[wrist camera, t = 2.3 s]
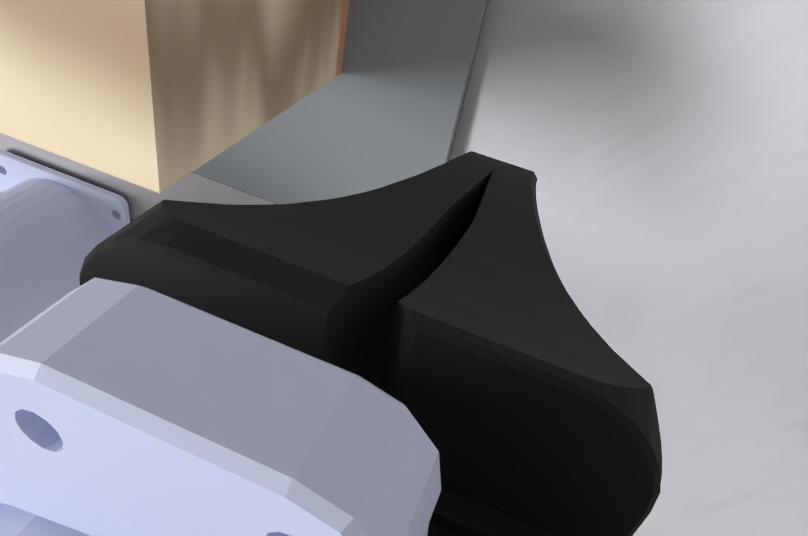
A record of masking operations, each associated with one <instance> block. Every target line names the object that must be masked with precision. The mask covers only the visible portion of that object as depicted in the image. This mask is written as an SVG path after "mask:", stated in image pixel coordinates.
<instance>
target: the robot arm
mask: <svg viewBox="0 0 808 536" xmlns="http://www.w3.org/2000/svg"><path fill="white" fill-rule="evenodd" d="M536 182H537V178H536V176H535V174H534V172H533V171H530V170H527V169H524V168H521V167H518V166H515V165H512V164H508V163H505V162H502V161H499V160H496V159H493V158H490V157H487V156H484V155H481V154H478V153H475V152H472V151H471V152H468V153H466V154H464V155H461V156H459V157H457V158H455V159H453V160H450V161H448V162H446V163H444V164H442V165H439V166H437V167H435V168H432V169H430V170H428V171H425V172H423V173H421V174H418V175H416V176H413V177H410V178H407V179H404V180H401V181H398V182H396V183H393V184H390V185H387V186H384V187H381V188H378V189H374V190H370V191H366V192H363V193H358V194H353V195H349V196H344V197H339V198H333V199H326V200H317V201H309V202H300V203H292V204H274V205H223V204H209V203H196V202H182V201H172V200H163V201H161V202H160V203H158V204H157V205H155V206H154V207H152V208H151V209H149V210H148V211H146V212H145V213H143V214H142V215H140V216H139V217H137V218H136V219H135V220H133V221H132V222H130V215H129V207H128V203H127V201H126V200H125V199H124V198H123V197H122V196H120V195H118V194H116V193H113V192H110V191H108V190H105V189H103V188H100V187H98V186H95V185H92V184H90V183H87V182H85V181H82V180H79V179H77V178H74V177H72V176H69V175H67V174H64V173H61V172H59V171H56V170H54V169H51V168H48V167H46V166H43V165H41V164H38V163H36V162H33V161H30V160H28V159H25V158H23V157H20V156H17V155H15V154H12V153H10V152H7V151H4V150H0V187H1V191H2V192H0V536H632V535H633V534H634V533H635V532H636V530H637V529H638V528H639V526H640V525H641V524H642V522H643V521H644V520H645V519H646V517H647V516H648V515H649V513H650V512H651V510H652V508H653V506H654V504H655V502H656V500H657V498H658V495H659V493H660V482H661V475H662V450H661V439H660V431H659V423H658V417H657V411H656V405H655V399H654V393H653V389H652V386H651V385H650V384H649V383H648V382H647V381H646V380H645V379H644V378H642V377H641V376H640V375H639V374H638V373H637V372H636V371H635V370H634V369H633V368H632V367H630V366H629V365H628V364H627V363H626V362H625V361H624V360H623V359H622V358H621V357H620V356H619V355H617V354H616V353H615V352H614V351H613V350H612V349H611V348H610V347H609V346H608V344H607V343H606V342H605V341H604V340H603V339H602V338H601V336H600V335H599V334H598V333H597V332H596V331H595V330H594V329H593V327H592V326H591V325H590V324H589V322H588V321H587V320H586V319H585V317H584V316H583V315H582V313H581V312H580V311H579V309H578V308H577V306H576V305H575V303H574V302H573V300H572V299H571V297H570V296H569V294H568V293H567V291H566V289H565V288H564V286H563V284H562V282H561V280H560V278H559V276H558V274H557V272H556V270H555V267H554V265H553V263H552V260H551V257H550V255H549V252H548V249H547V246H546V243H545V240H544V236H543V233H542V229H541V224H540V220H539V215H538V210H537V203H536Z"/></svg>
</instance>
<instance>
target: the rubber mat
mask: <svg viewBox="0 0 808 536" xmlns="http://www.w3.org/2000/svg"><path fill="white" fill-rule="evenodd" d="M487 2H488V0H350V1H349V9H348V18H347V27H346V36H345V44H344V53H343V62H342V71H341V74H339V75H338V76H336V77H335V78H333V79H332V80H330V81H329V82H327V83H326V84H324V85H323V86H321V87H320V88H318V89H317V90H315V91H314V92H312V93H311V94H309V95H308V96H306V97H305V98H303V99H302V100H300V101H299V102H297V103H296V104H294V105H293V106H291V107H290V108H288V109H287V110H285V111H284V112H282V113H281V114H279V115H278V116H276V117H274V118H273V119H271V120H270V121H268V122H267V123H265V124H264V125H262V126H261V127H259V128H258V129H256V130H255V131H253V132H252V133H250V134H249V135H247V136H246V137H244V138H243V139H241V140H240V141H238V142H237V143H235V144H234V145H232V146H231V147H229V148H228V149H226V150H225V151H223V152H222V153H220V154H219V155H217V156H216V157H214V158H213V159H211V160H210V161H208V162H207V163H205V164H204V165H202V166H201V167H199V168H197V169H196V170H194V171H193V172H192V173H195V174H197V175H200V176H203V177H206V178H208V179H211V180H214V181H216V182H219V183H222V184H225V185H227V186H230V187H233V188H235V189H238V190H241V191H243V192H246V193H249V194H252V195H254V196H257V197H260V198H262V199H265V200H268V201H271V202H273V203H276V204H292V203H300V202H309V201H317V200H326V199H333V198H339V197H344V196H349V195H353V194H358V193H363V192H366V191H370V190H374V189H378V188H381V187H384V186H387V185H390V184H393V183H396V182H398V181H401V180H404V179H407V178H410V177H413V176H416V175H418V174H421V173H423V172H425V171H428V170H430V169H432V168H435V167H437V166H439V165H442V164H444V163H446V162H448V161H449V157H450V153H451V149H452V144H453V140H454V136H455V132H456V128H457V124H458V120H459V116H460V112H461V108H462V104H463V100H464V95H465V91H466V87H467V83H468V79H469V75H470V71H471V67H472V63H473V59H474V55H475V51H476V47H477V42H478V38H479V34H480V30H481V26H482V22H483V18H484V14H485V10H486V6H487Z"/></svg>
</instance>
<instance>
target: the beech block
mask: <svg viewBox="0 0 808 536" xmlns="http://www.w3.org/2000/svg"><path fill="white" fill-rule="evenodd" d="M349 1H350V0H0V133H2V134H5V135H7V136H10V137H13V138H15V139H18V140H20V141H23V142H26V143H28V144H31V145H34V146H36V147H39V148H41V149H44V150H47V151H49V152H52V153H55V154H57V155H60V156H62V157H65V158H68V159H70V160H73V161H76V162H78V163H81V164H83V165H86V166H89V167H91V168H94V169H97V170H99V171H102V172H104V173H107V174H110V175H112V176H115V177H118V178H120V179H123V180H125V181H128V182H131V183H133V184H136V185H139V186H141V187H144V188H146V189H149V190H152V191H154V192H157V193H161V192H163V191H164V190H166V189H167V188H169V187H170V186H172V185H173V184H175V183H176V182H178V181H179V180H181V179H182V178H184V177H185V176H187V175H188V174H190V173H191V172H193V171H194V170H196V169H197V168H199V167H201V166H202V165H204V164H205V163H207V162H208V161H210V160H211V159H213V158H214V157H216V156H217V155H219V154H220V153H222V152H223V151H225V150H226V149H228V148H229V147H231V146H232V145H234V144H235V143H237V142H238V141H240V140H241V139H243V138H244V137H246V136H247V135H249V134H250V133H252V132H253V131H255V130H256V129H258V128H259V127H261V126H262V125H264V124H265V123H267V122H268V121H270V120H271V119H273V118H274V117H276V116H278V115H279V114H281V113H282V112H284V111H285V110H287V109H288V108H290V107H291V106H293V105H294V104H296V103H297V102H299V101H300V100H302V99H303V98H305V97H306V96H308V95H309V94H311V93H312V92H314V91H315V90H317V89H318V88H320V87H321V86H323V85H324V84H326V83H327V82H329V81H330V80H332V79H333V78H335V77H336V76H338V75H339V74H341V71H342V62H343V53H344V44H345V36H346V27H347V18H348V9H349Z"/></svg>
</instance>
